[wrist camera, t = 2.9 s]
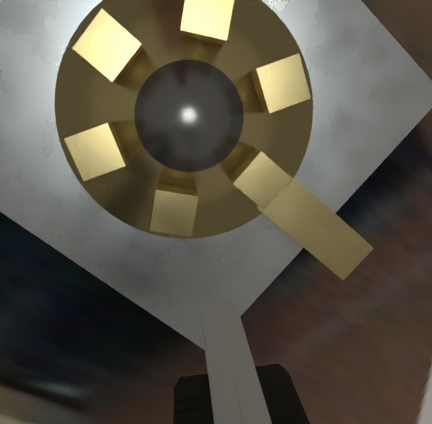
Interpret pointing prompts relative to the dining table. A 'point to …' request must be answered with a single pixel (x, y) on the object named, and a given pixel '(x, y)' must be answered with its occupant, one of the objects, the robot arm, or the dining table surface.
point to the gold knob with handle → (195, 122)
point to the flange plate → (229, 241)
